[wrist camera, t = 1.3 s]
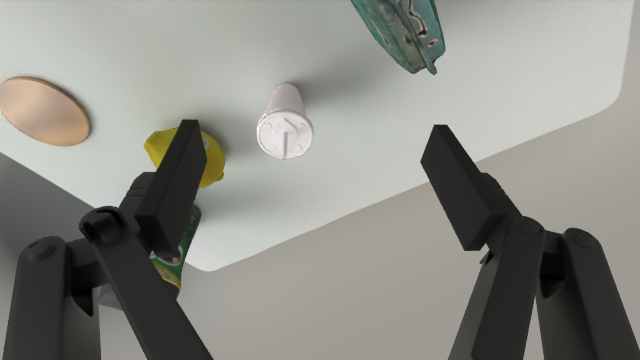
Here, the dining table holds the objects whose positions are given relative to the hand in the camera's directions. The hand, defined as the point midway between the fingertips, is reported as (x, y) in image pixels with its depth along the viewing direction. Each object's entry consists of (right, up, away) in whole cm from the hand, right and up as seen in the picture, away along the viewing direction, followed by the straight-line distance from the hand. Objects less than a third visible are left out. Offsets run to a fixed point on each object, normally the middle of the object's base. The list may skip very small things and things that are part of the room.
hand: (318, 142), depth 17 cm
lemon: (-18, +4, +27) cm, 33 cm away
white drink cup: (-4, +9, +23) cm, 25 cm away
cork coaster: (-36, +7, +22) cm, 43 cm away
